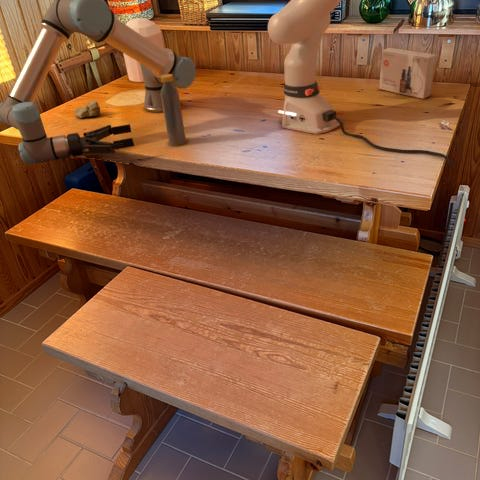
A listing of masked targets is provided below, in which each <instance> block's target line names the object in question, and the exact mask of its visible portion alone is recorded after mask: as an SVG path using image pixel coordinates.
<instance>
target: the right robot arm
mask: <svg viewBox="0 0 480 480" xmlns="http://www.w3.org/2000/svg"><path fill="white" fill-rule="evenodd" d="M341 2H342V0H289V2H288V3H287V4H286V5H284V6H283V7H282V8H281V9H280V10H279V11H277V12H276V13H274V14H273V15H272V16H271V17H270V18H269V20H268V21H267V22H268V23H267V34H268V36H269V39H270V40H271V42H272V43H273V44H275V45H276V46H291V47H290V50H289V52H288V53H287V55H286V57H285V58H284V62H283V67H284V68H283V69H284V82H283V89H282V90H283V94H284V103H283V110H278V113H279V114H282V116H281V120H280V121H281V128H282V129H288V130H292V131H298V132H303V133H309V134H313V135H314V134H315V135H319V134H324V133H328V132H331V131H332V130H335V129H337V128H338V127H339V126H340V130H341V132H342V133H343V134H344V135H345V136H349V137H353V138H358V139H361V140H363V141H364V142H366V144H368V145H369V146H371V147H373V148H375V149H378V150H381V151H382V150H383V151H386V152H393V153H402V154H403V153H404V154H405V153H406V154H416V153H417V154H427V155H432V156H436V157H441V158H443V159H444V160H445V161H446V162H447V163H448V165H449V166H450V167H454V163H453V162H452V160H451V159H450V157H448V156H447V155H446V154H444V153H441V152H438V151H437V152H436V151H431V150H425V149H401V148H400V149H399V148H392V147H386V146H380V145H377V144H375V143H372V142H371V141H370V140H369V139H368V138H367V137H365V136H363V135H362V134H361V135H360V134H353V133H349V132H348V131H346V130H345V128H344V123H343V122H342V120H341V119H340V118H338V117H337V110H334V109H335V108H334V106H333V105H332V104H331V103H330V102H329V101H328V100H327V99H326V98H325V97H324V96H323V95H322V94H321V93H320V90H321V89H322V86H323V85H322V84H320V85H319V84H318V81H317V59H318V54H319V51H320V50H319V49H320V46H321V43H322V40H323V37H324V34H325V32H326V31H327V30H328V28H329V26H330V24H331V17H332V16H331V13H332V12H333V11H334V10H335V9H336V7H337V6H338V5H339V4H340V3H341ZM449 203H450V204H449V209H448V215H447V220H446V226H445V229H444V234H443V239H442V242H441V246H440V251H439V257H438V261H437V268H438V269H440V268H441V265H442V260H443V255H444V250H445V247H446V242H447V239H448V234H449V229H450V225H451V220H452V215H453V209H454V203H455V202H454V201H453V202H449Z"/></svg>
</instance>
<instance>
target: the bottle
mask: <svg viewBox="0 0 480 480" xmlns="http://www.w3.org/2000/svg"><path fill="white" fill-rule="evenodd" d="M163 83H164V84H163V87H162V89H161V93H160V95H161V100H162V106H163V111H164V112H163V116H164V122H165V128H166V133H167V139H168V144H169V145H170V146H172V147H179V146H182V145H184V144H186V143H187V137H186V131H185V125H184V124H185V123H184V118H183V113H182V105H181V100H180V99H181V98H180V93H179V90H178V88H177V87H175V85H173V83H172V81H170V82H163Z"/></svg>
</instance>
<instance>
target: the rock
mask: <svg viewBox="0 0 480 480" xmlns="http://www.w3.org/2000/svg"><path fill="white" fill-rule="evenodd" d="M100 113H101V106H100V105H99V103H98V101H97V100H94V99H93V100H91V101H90V102H89V103H86V105H85V107H84V106H83V107H81V106H80V107H79V106H78V107H76V108H75V116H76V117H77V119H86V118H92V117H93V118H95V117H98V116H100Z"/></svg>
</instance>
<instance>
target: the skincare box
mask: <svg viewBox="0 0 480 480" xmlns="http://www.w3.org/2000/svg"><path fill="white" fill-rule="evenodd" d="M436 57H437V54H435V53H427V52H423V51H422V52H420V51H413V50H407V49H400V48H395V47H394V48H393V47H387V48H385V49H382V50H381V61H380V74H379V86H378V87H379V88H378V89H379V90H383V91H387V92H391V93H395V94H399V95H405V96H409V97H414V98H418V99H422V100H424V99H426V98H428V97H430V96H431V91H432V86H433V85H432V84H433V78H434V73H435V72H434V71H435V70H434V69H435V64H436Z"/></svg>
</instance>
